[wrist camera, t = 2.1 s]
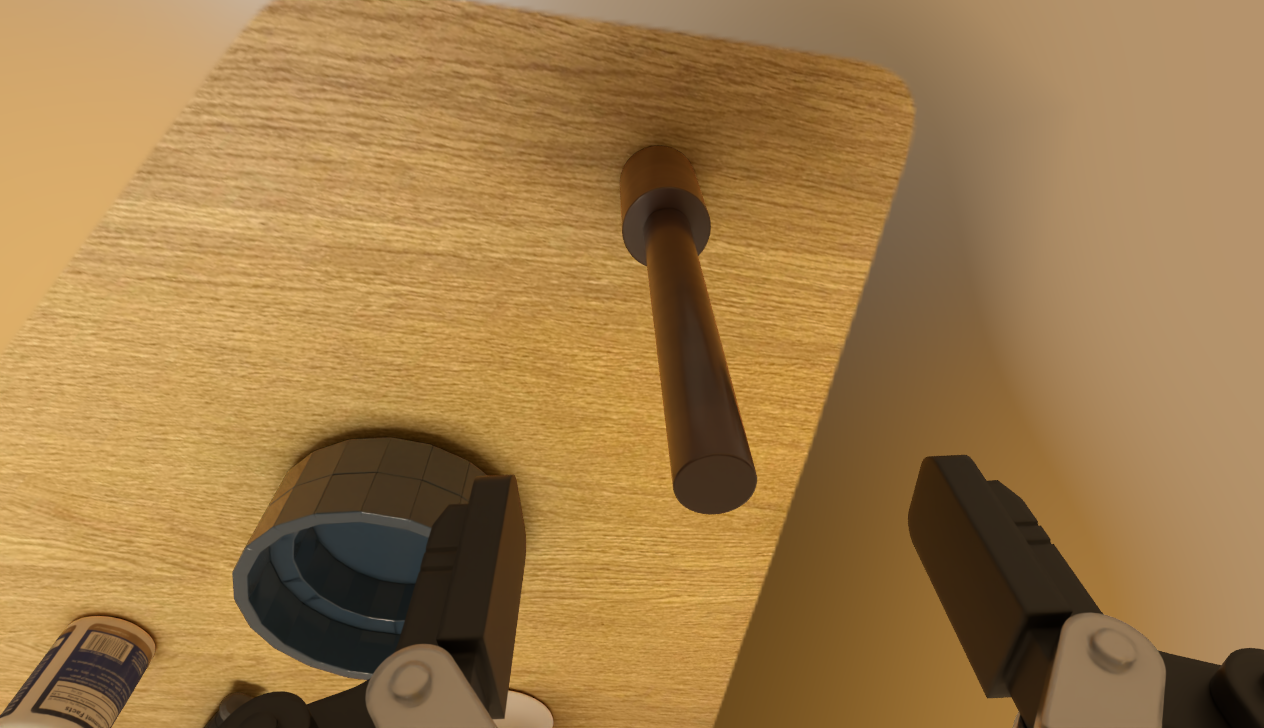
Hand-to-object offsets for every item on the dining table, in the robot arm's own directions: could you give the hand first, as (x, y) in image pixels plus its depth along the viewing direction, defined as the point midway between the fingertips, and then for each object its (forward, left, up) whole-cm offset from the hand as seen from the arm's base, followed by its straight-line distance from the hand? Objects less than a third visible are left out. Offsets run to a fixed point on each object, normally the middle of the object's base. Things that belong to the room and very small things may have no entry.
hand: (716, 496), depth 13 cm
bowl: (+19, -15, -18) cm, 30 cm away
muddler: (0, 0, -18) cm, 18 cm away
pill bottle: (+29, -36, -18) cm, 50 cm away
